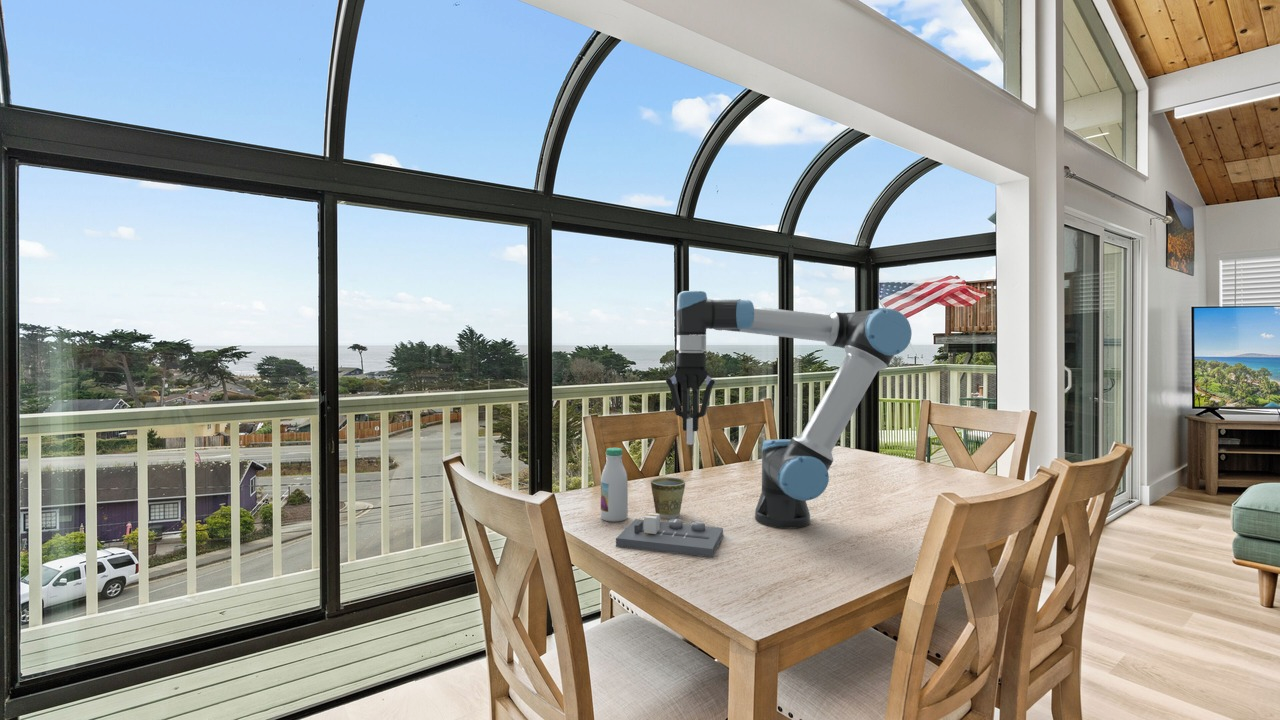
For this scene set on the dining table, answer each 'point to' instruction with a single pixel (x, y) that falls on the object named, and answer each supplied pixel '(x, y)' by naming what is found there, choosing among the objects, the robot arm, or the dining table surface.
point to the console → (673, 537)
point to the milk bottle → (614, 487)
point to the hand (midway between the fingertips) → (690, 443)
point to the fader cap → (651, 523)
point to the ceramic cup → (668, 496)
